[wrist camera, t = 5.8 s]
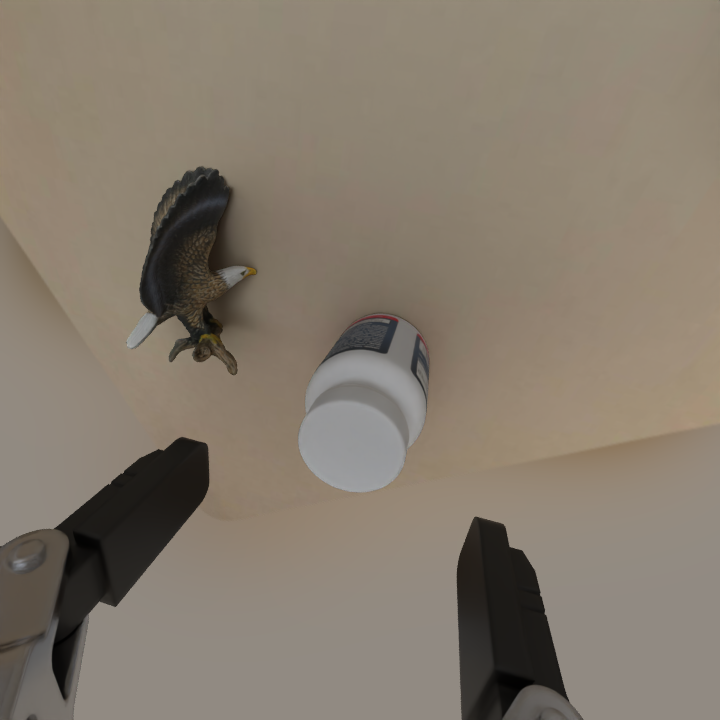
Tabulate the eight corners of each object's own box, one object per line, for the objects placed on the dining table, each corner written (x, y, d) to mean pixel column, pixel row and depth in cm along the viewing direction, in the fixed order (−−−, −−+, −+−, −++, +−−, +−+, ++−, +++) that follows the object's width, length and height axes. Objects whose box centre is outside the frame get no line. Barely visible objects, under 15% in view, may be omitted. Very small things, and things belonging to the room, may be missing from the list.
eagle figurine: (300, 345, 20) (273, 164, 16) (174, 407, 16) (81, 186, 11) (232, 307, 25) (194, 158, 20) (120, 349, 21) (38, 174, 16)
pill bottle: (323, 363, 22) (255, 453, 14) (370, 293, 20) (321, 352, 12) (395, 412, 22) (369, 528, 14) (449, 348, 20) (455, 443, 12)
